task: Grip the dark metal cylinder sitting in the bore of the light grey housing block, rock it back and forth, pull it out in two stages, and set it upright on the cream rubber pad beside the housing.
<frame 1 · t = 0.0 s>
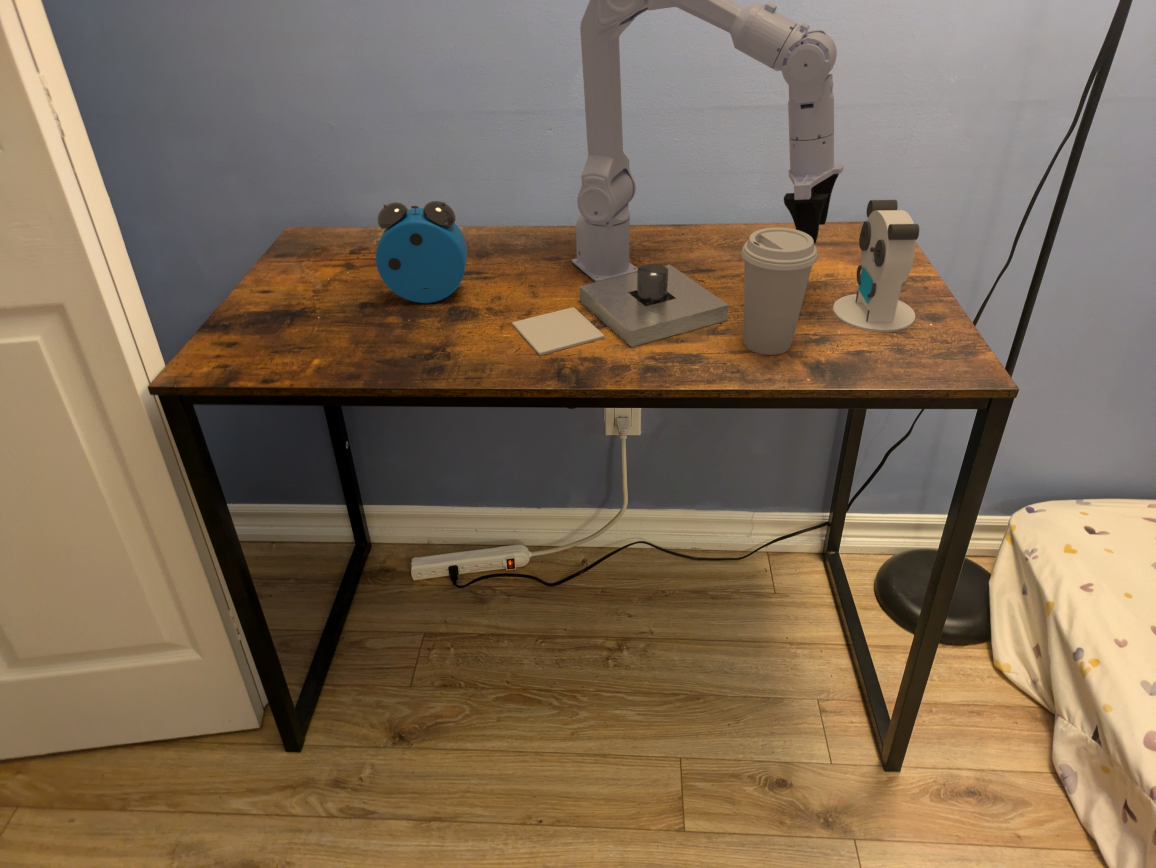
hand: (813, 233, 109), 11 cm above the table, tool pointing down, fingers open, 7 cm apart
dark metal cylinder: (652, 290, 112), in the housing block
panda figurine: (872, 313, 112), on the table
rubber pad: (557, 331, 109), on the table
coffee cup: (766, 344, 105), on the table
housing block: (651, 310, 114), on the table
alarm clock: (429, 297, 120), on the table
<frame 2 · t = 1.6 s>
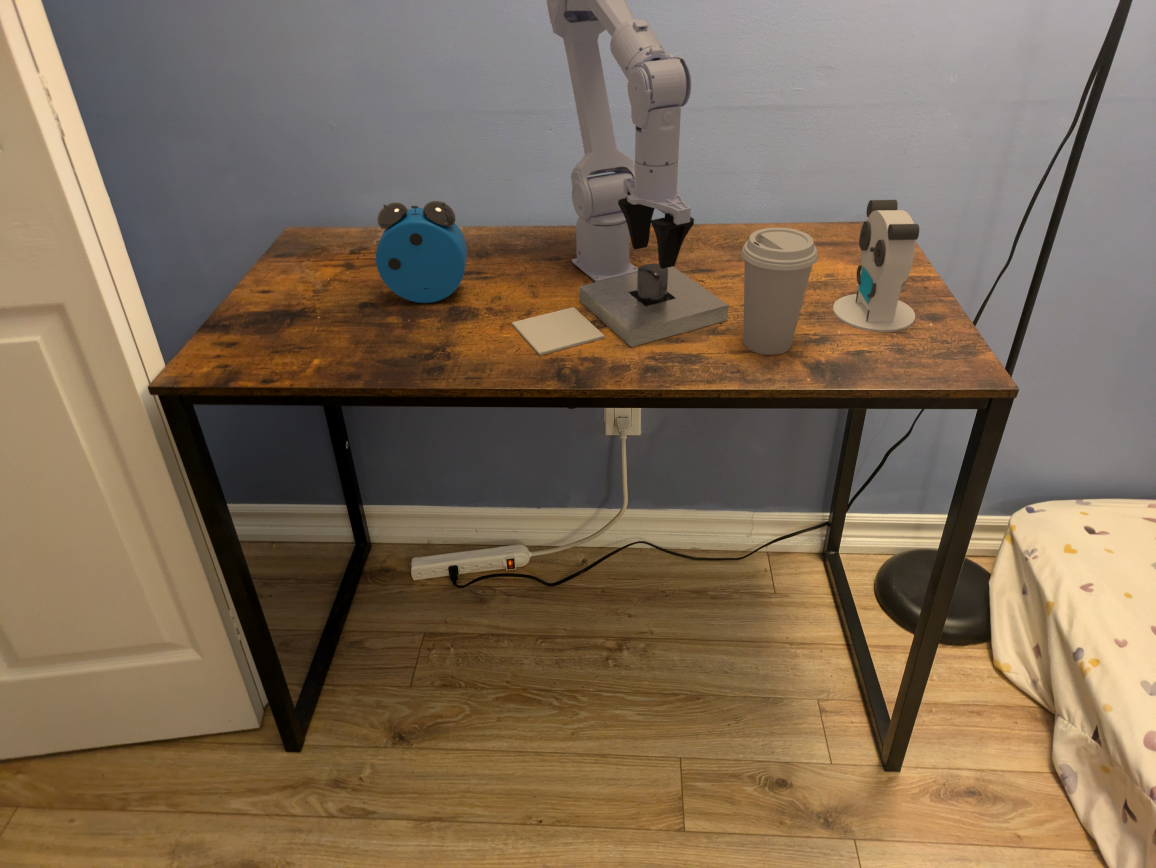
hand: (653, 256, 109), 9 cm above the table, tool pointing down, fingers open, 7 cm apart
nothing on the table moved.
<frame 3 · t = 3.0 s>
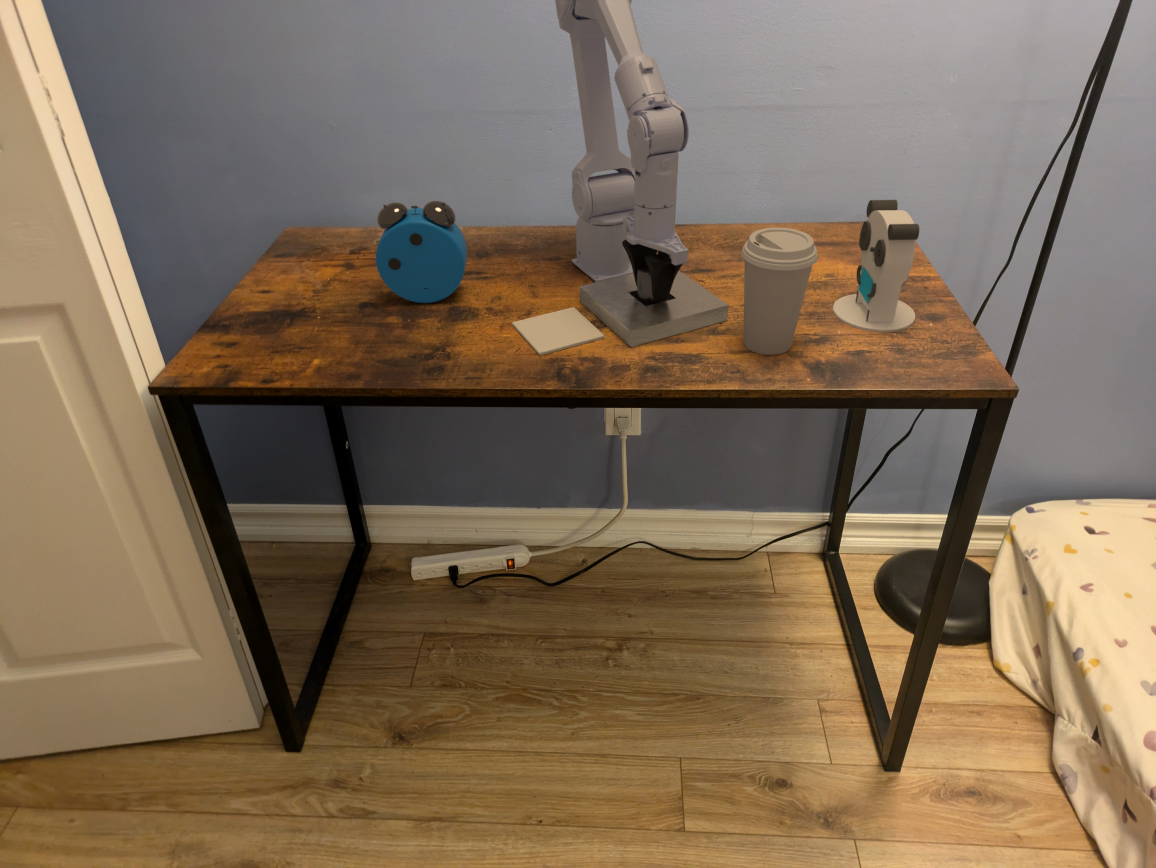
hand: (652, 292, 112), 3 cm above the table, tool pointing down, fingers closed on dark metal cylinder, 4 cm apart
dark metal cylinder: (652, 290, 112), in the housing block, touching gripper
everything else where it was.
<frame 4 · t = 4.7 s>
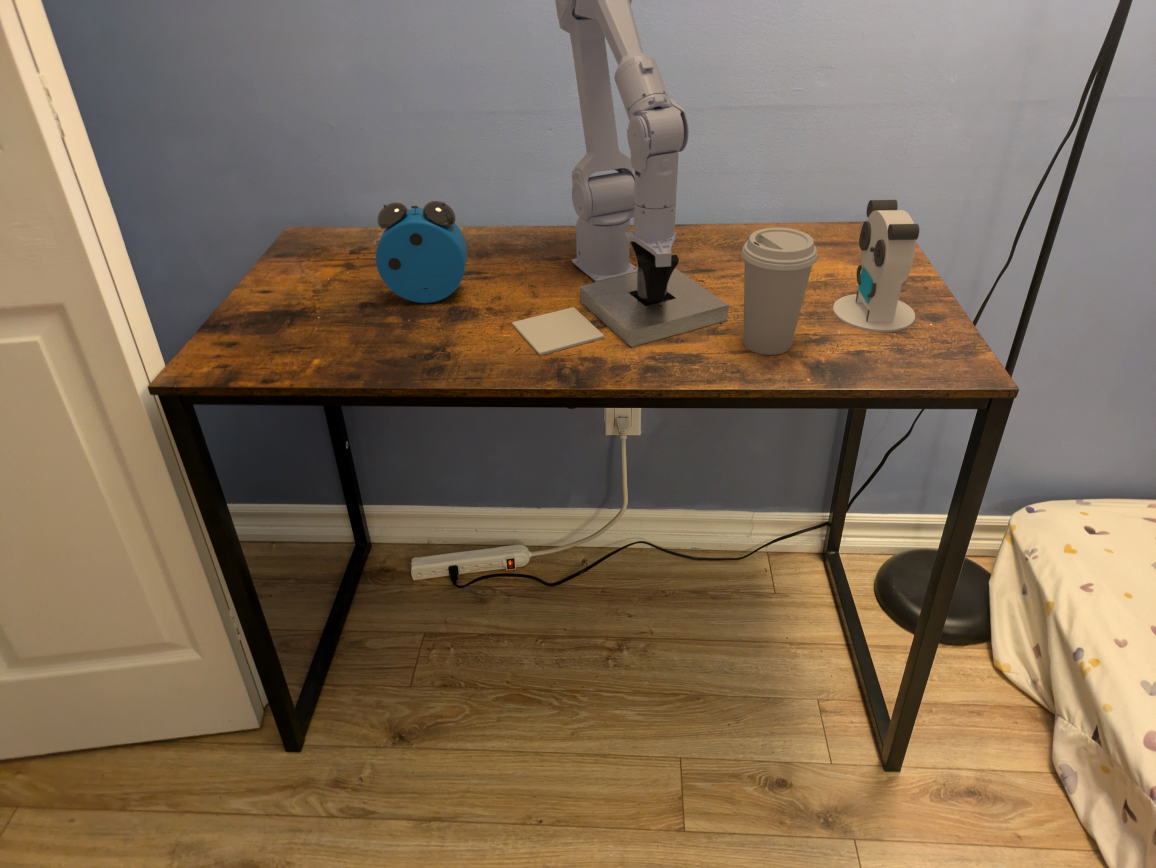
hand: (652, 292, 112), 3 cm above the table, tool pointing down, fingers closed on dark metal cylinder, 4 cm apart
dark metal cylinder: (652, 290, 112), in the housing block, touching gripper
everything else where it was.
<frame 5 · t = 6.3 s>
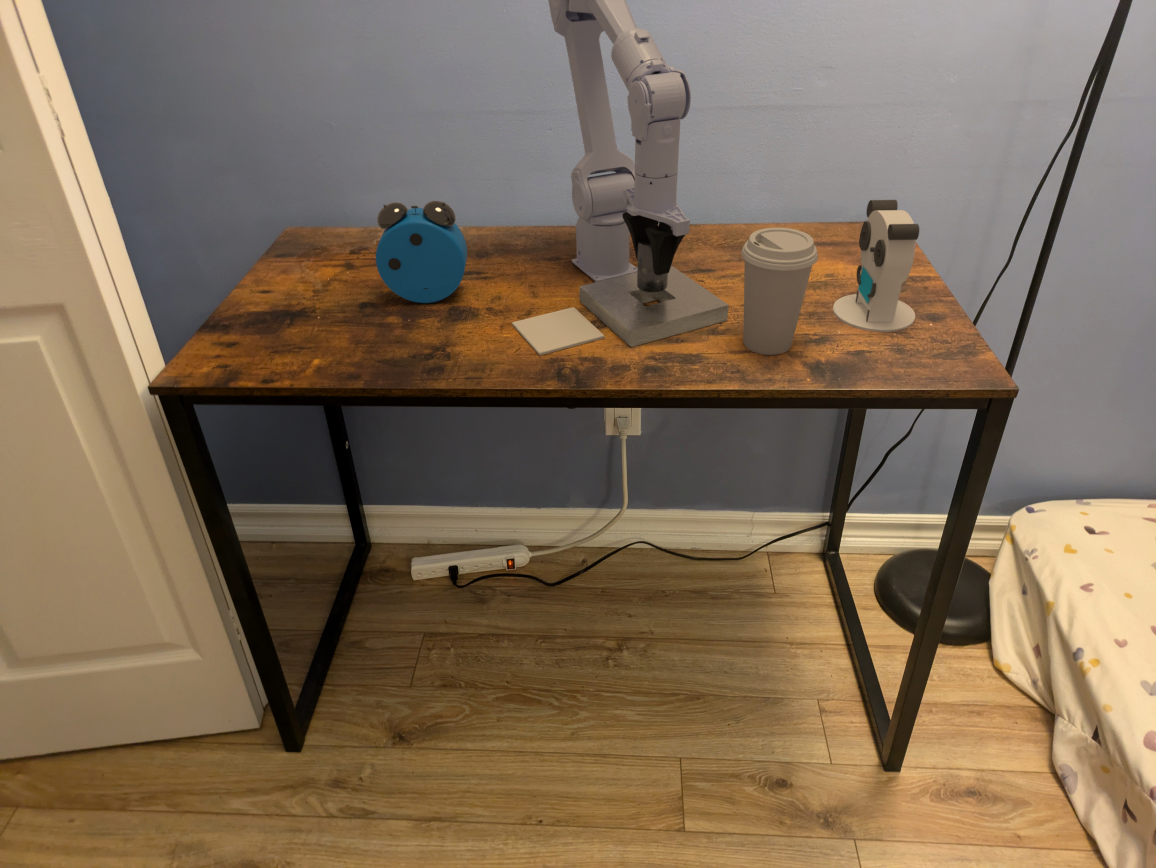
hand: (652, 266, 110), 7 cm above the table, tool pointing down, fingers closed on dark metal cylinder, 4 cm apart
dark metal cylinder: (652, 264, 109), point 7 cm above the table, touching gripper
everything else where it was.
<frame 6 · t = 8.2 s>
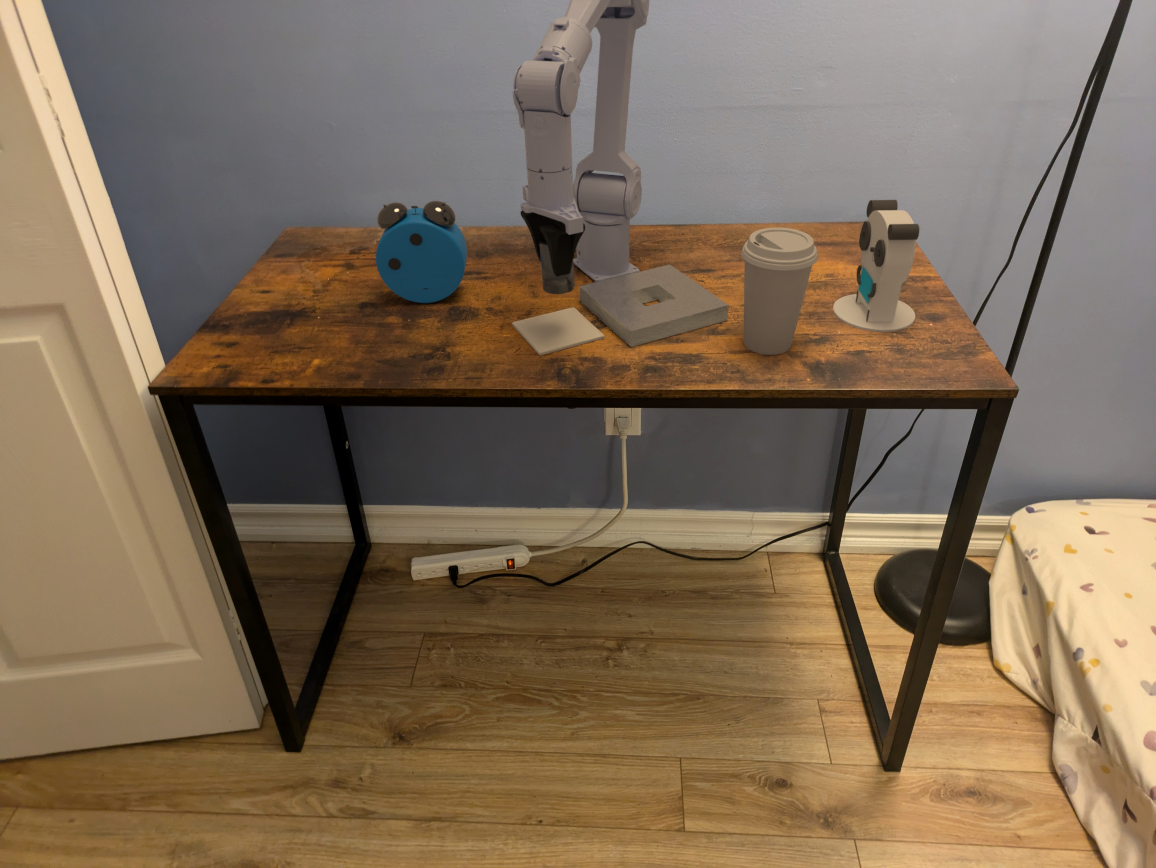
hand: (554, 267, 104), 10 cm above the table, tool pointing down, fingers closed on dark metal cylinder, 4 cm apart
dark metal cylinder: (557, 265, 104), point 10 cm above the table, touching gripper
everything else where it was.
when the fingers open (5 cm above the table, at t = 9.9 s): dark metal cylinder drops 1 cm, resting on rubber pad.
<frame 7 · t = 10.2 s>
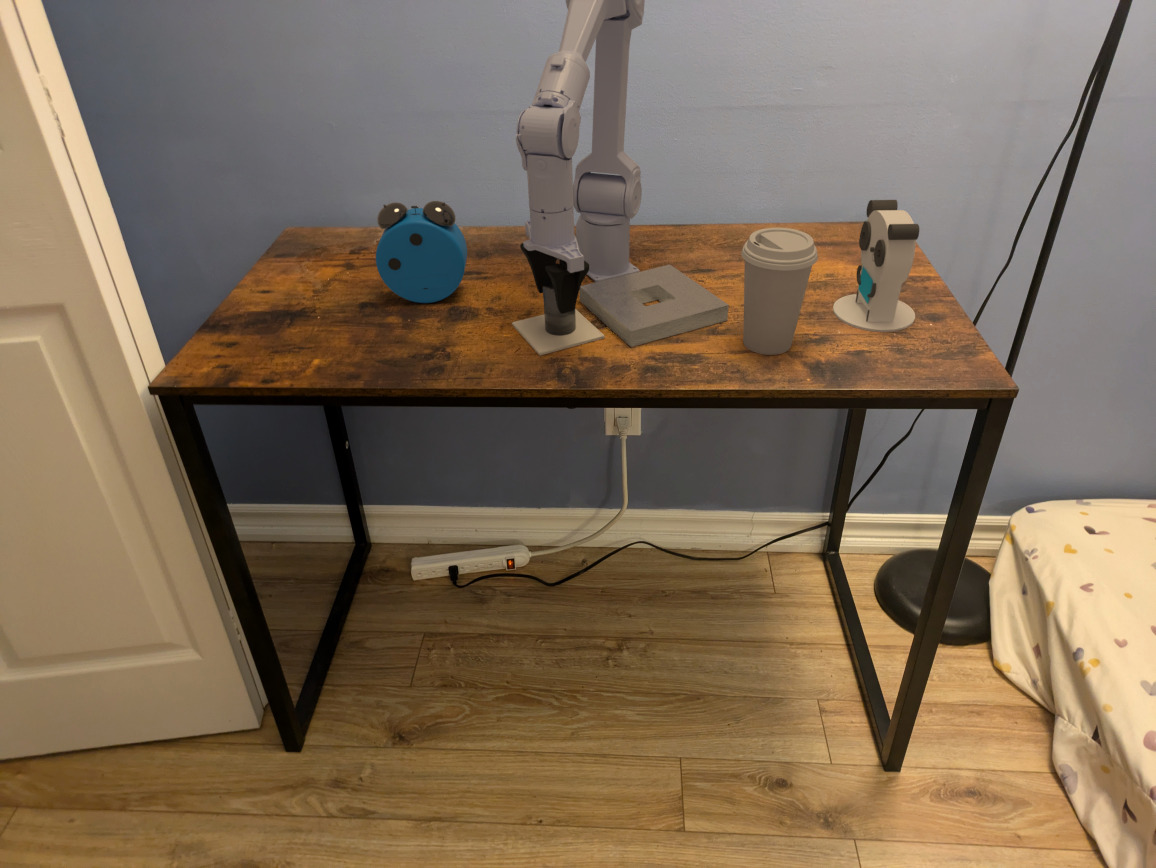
hand: (556, 301, 107), 5 cm above the table, tool pointing down, fingers open, 6 cm apart
dark metal cylinder: (559, 307, 107), on the rubber pad
everything else where it was.
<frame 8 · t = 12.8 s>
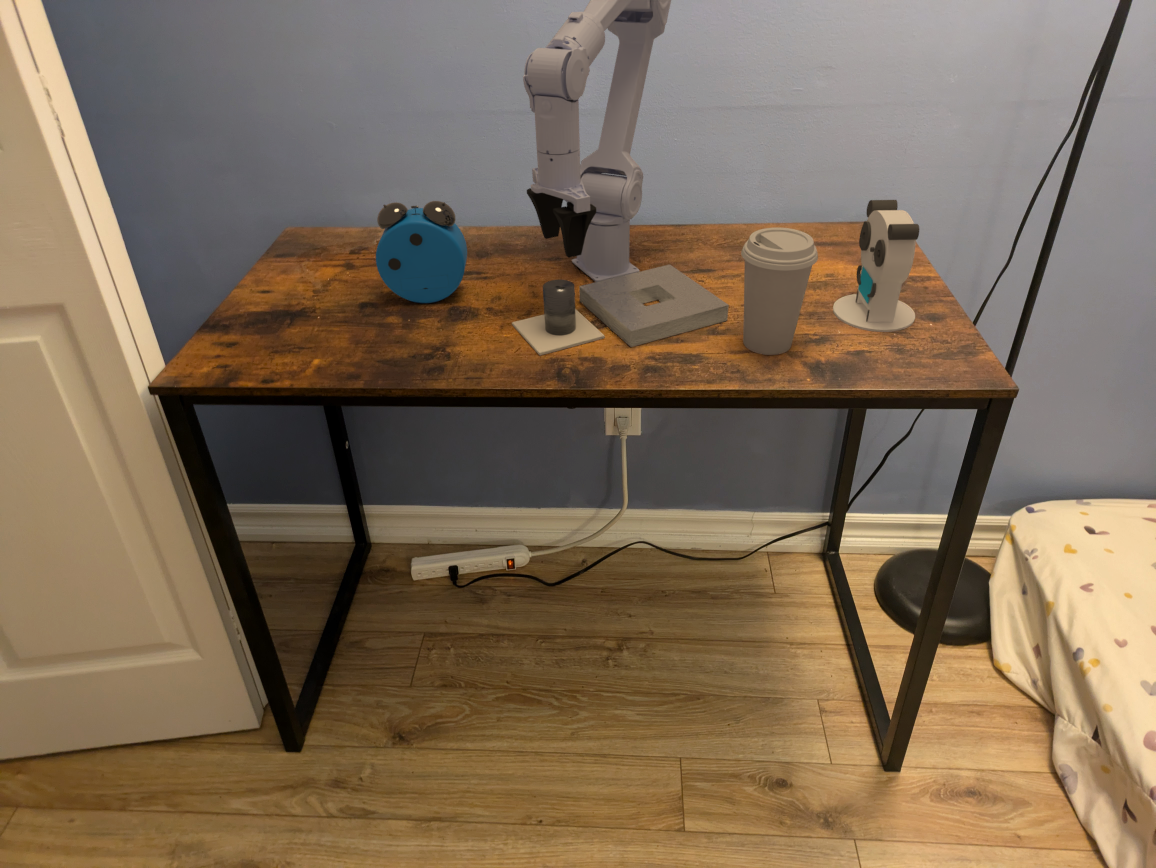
hand: (562, 245, 109), 10 cm above the table, tool pointing down, fingers open, 7 cm apart
nothing on the table moved.
at the end: dark metal cylinder inside the target area on the rubber pad (0.5 cm from its centre), point 3.7 cm above the rubber pad's base; dark metal cylinder tilted 1°; the gripper is holding nothing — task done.
